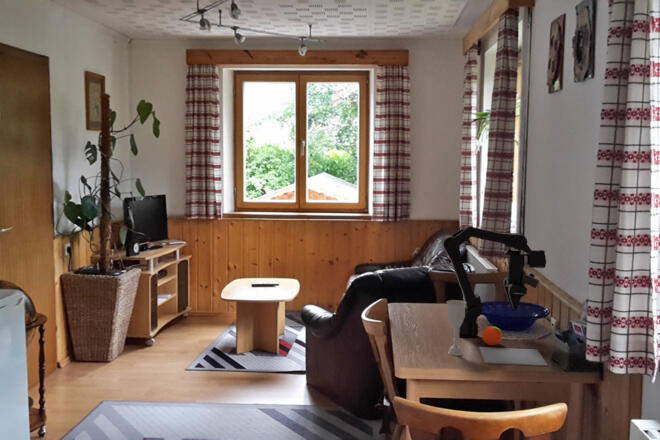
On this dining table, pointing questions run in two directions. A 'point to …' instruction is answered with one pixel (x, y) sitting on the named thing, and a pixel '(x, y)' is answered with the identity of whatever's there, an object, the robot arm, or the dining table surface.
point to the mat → (512, 356)
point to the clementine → (492, 335)
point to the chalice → (456, 322)
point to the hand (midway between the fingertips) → (513, 307)
